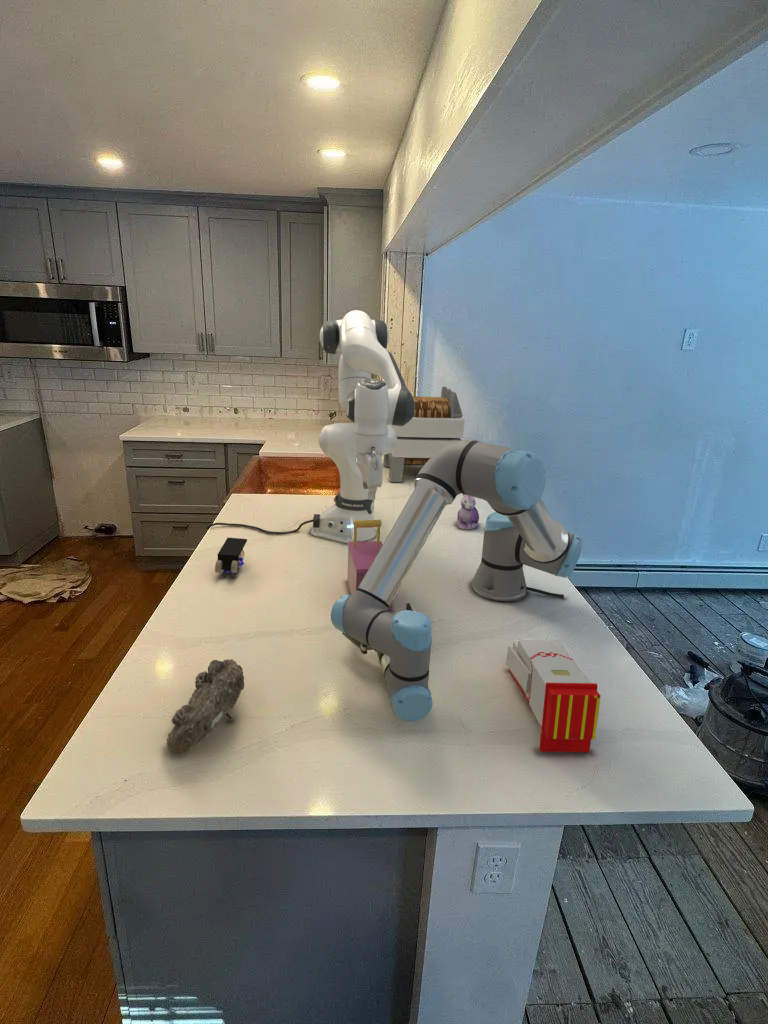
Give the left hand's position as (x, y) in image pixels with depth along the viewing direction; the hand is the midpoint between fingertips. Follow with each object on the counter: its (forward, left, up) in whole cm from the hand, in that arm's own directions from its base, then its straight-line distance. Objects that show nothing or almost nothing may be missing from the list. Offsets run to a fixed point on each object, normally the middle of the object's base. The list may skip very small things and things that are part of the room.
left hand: (368, 493), depth 153 cm
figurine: (+21, +59, -28) cm, 68 cm away
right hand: (+10, -22, -22) cm, 32 cm away
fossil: (-11, -62, -28) cm, 69 cm away
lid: (+2, -5, -16) cm, 17 cm away
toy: (+50, -37, -28) cm, 68 cm away
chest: (+3, -6, -28) cm, 28 cm away
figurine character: (-40, -5, -28) cm, 49 cm away
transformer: (-11, +121, -28) cm, 125 cm away
